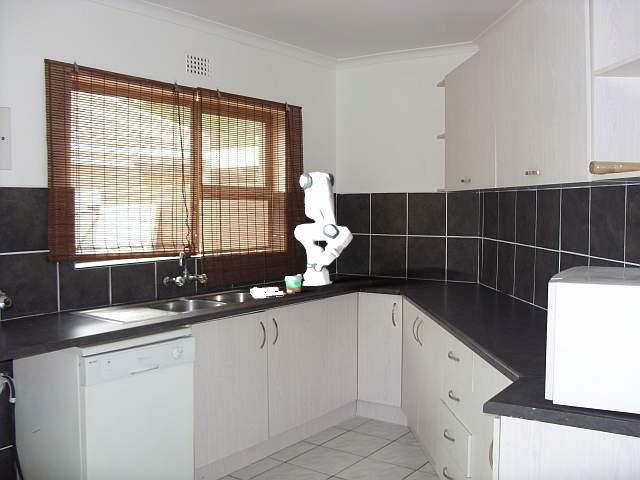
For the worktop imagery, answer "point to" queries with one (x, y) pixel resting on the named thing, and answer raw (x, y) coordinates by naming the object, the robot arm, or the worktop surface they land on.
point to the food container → (293, 283)
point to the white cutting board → (260, 293)
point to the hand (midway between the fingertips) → (317, 268)
